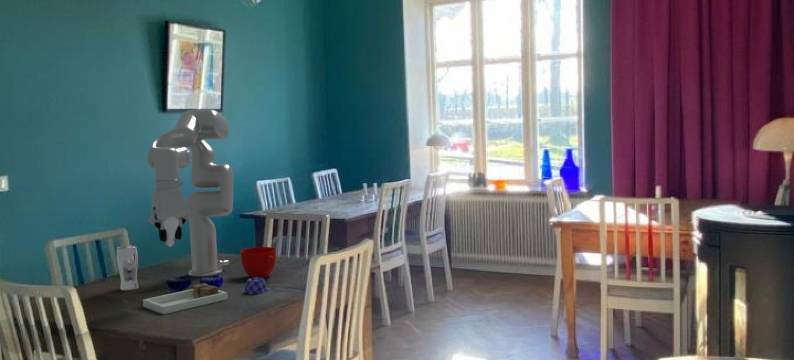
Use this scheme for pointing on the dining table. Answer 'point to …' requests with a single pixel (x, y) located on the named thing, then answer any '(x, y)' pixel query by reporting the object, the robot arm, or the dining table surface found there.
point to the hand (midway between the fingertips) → (170, 239)
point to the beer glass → (127, 267)
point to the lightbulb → (170, 229)
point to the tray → (181, 301)
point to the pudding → (255, 286)
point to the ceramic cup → (258, 261)
